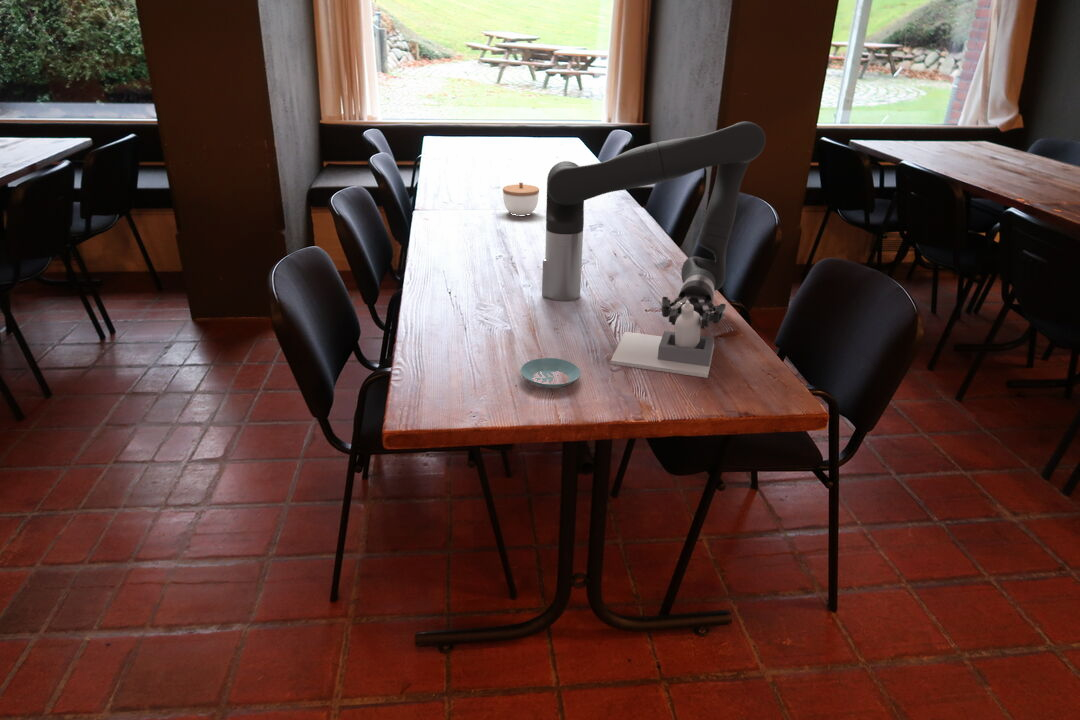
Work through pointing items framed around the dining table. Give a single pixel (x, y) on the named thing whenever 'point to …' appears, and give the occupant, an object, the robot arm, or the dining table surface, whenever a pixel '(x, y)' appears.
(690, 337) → the eye dropper bottle
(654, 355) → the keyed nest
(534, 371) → the saucer
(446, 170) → the dining table surface
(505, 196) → the lidded bowl
